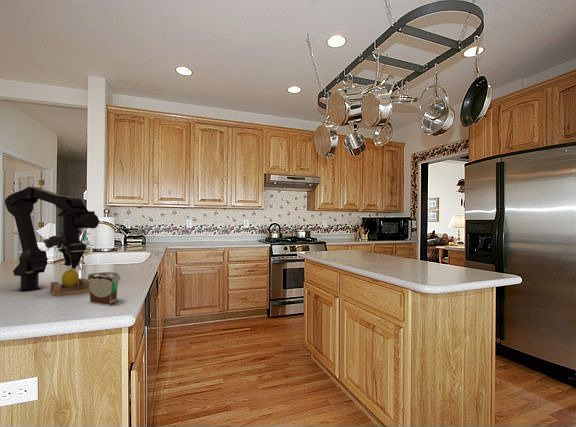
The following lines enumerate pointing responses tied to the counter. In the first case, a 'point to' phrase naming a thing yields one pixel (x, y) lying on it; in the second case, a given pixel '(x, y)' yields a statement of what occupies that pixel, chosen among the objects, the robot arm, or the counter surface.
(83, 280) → the cradle
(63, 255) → the robot arm
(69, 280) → the lemon
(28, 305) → the counter surface
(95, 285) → the food container
